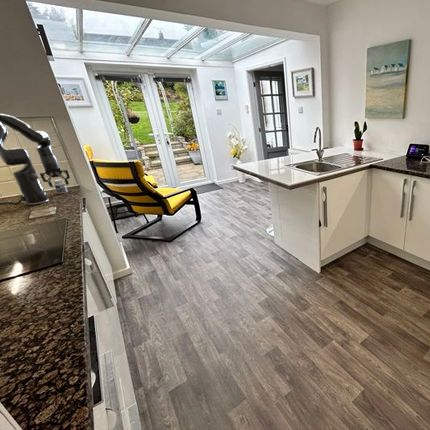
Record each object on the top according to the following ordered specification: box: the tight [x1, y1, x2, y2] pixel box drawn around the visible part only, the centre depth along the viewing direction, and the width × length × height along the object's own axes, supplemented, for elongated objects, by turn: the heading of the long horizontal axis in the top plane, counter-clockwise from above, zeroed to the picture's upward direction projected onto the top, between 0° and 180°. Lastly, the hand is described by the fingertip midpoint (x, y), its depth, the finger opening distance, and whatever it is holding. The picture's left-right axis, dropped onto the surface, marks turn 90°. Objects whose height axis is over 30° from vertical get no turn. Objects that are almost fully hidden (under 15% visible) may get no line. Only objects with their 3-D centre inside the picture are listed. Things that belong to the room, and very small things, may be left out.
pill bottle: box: [53, 179, 69, 195], centre depth 182 cm, size 5×5×9 cm
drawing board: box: [28, 206, 57, 221], centre depth 146 cm, size 16×10×1 cm, turn 42°
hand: (59, 186), depth 182 cm, fingers open, 7 cm apart
